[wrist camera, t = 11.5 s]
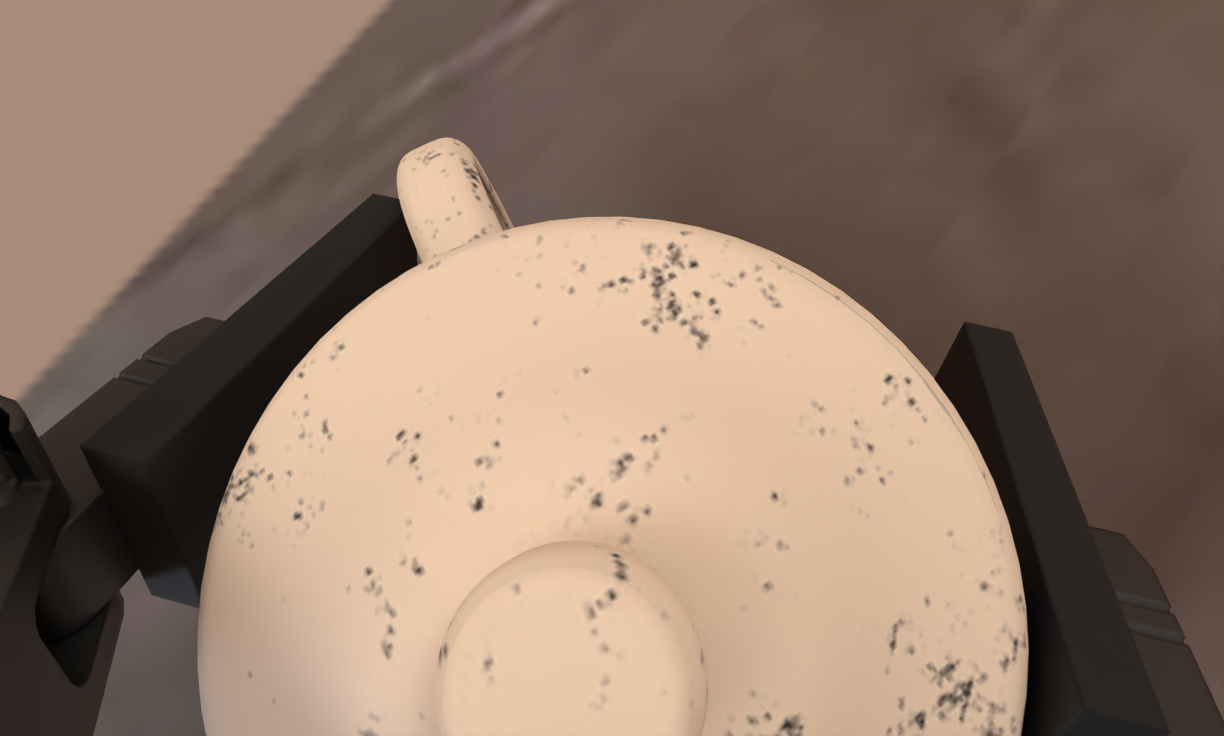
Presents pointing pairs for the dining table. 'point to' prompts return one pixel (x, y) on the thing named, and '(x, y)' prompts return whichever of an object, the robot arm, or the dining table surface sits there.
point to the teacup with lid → (607, 503)
